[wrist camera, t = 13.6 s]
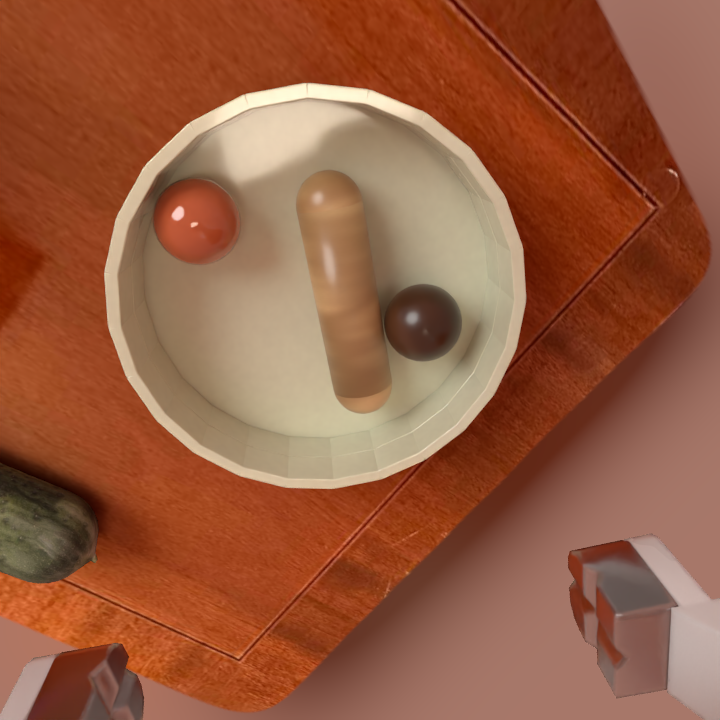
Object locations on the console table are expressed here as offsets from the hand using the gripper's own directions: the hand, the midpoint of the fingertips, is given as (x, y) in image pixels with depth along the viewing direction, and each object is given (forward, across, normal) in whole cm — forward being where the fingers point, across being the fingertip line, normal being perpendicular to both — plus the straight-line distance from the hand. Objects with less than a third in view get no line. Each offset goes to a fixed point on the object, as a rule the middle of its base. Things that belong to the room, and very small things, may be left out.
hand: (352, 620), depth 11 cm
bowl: (+23, 0, 0) cm, 23 cm away
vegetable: (+23, +21, +8) cm, 32 cm away
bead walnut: (+20, -5, +2) cm, 21 cm away
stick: (+21, 0, 0) cm, 21 cm away
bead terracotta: (+20, +5, -5) cm, 22 cm away
